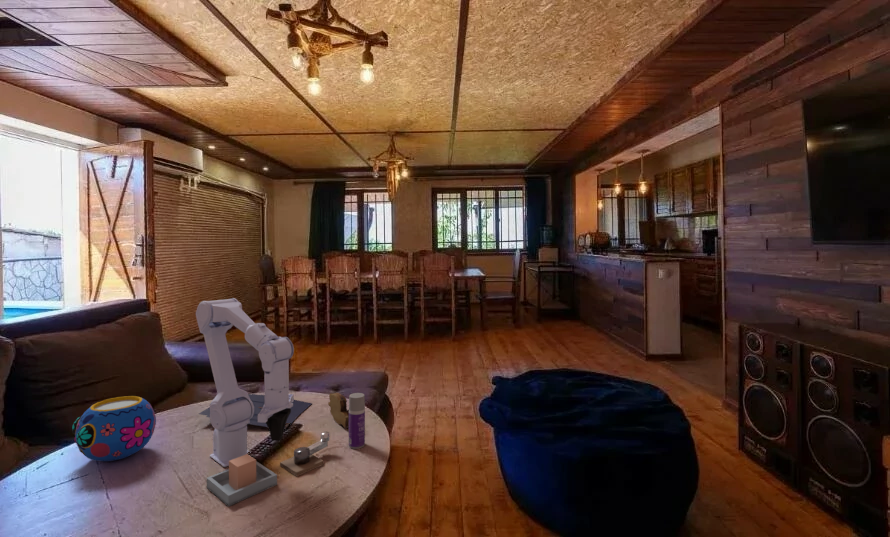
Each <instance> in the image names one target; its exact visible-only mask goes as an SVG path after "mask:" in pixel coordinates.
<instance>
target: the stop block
mask: <svg viewBox="0 0 890 537" xmlns="http://www.w3.org/2000/svg"><path fill="white" fill-rule="evenodd" d="M256 461H257V458H256V459H255V457H254V456H253V457H251V456H250V455H248V454H246V455H243V456H241V457H238V458H235V459H232V460H230V461H229V466H228V469H229V485H230V486H231V487H232V488H233V489H235V490H238V489H241V488H243V487H245V486H248V485H250V484H252V483H255V482H256Z"/></svg>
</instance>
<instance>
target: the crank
mask: <svg viewBox="0 0 890 537" xmlns="http://www.w3.org/2000/svg"><path fill="white" fill-rule="evenodd" d="M329 441H330V431H328V430H327V431H322V432H320V440H319V441H316V442H315V443H313V444H311V445H309V446H302V447H297V448H296V449H294V450H293V456H294V463H296V464H304V463H307V462H308V461H309V460H310V455H314V454H316V453H318V452H319V451H321V450H324V449H325V448H327V447H328V443H329Z"/></svg>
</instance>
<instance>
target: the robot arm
mask: <svg viewBox="0 0 890 537" xmlns="http://www.w3.org/2000/svg"><path fill="white" fill-rule="evenodd" d="M195 317H196V322H197V327H198V329H199V333H200V334H203V337H204V338H203V339H204V342H205V346H206V351H207V355H208V359H209V363H210V367H211V372H212V376H213V380H214V383H215V384H214V385H215V388H216V392H217V393H216V396H214V398H213V399H212V400H211V402H210V403H209V406H208V407H210V418H209V421H210V424H211V426H212V427H213V428H214V430H213V433H212V453H211V454H209V458H211V459H212V460H214V461H215V462H216V463H218V464H219V465H221V467H224V468H227V467H229V461H230V460H232V459H235V458H238V457H241V456H243V455H246V454H247V453H248V452H250V450H248V425H249V424H248V423H250V419H251V418H252V417H253V414H254V405H253V403H252V401H251V400H250V398H249V395H248V394H249V393H248V391H246V390H245V389H241V388H239V386H238V381H237V378H236V373H235V368H234V364H233V360H232V357H231V353H230V349H229V344H228V340H227V337H226V336H227V335H226V334H227V332H228V330H230V329H232V327H235V328H236V329H238V330H239V331H240V332H242V333H243V334H244V339H245V341H246V342H247V343H248V344H249V345H250V346H251V347H253V348H254V350H256V351H257V352H258V356H259V357H258V358H259V359H260V361H261V368H262V371H263V372H264V375H263V376H264V395H265V404H264V406H263V408H262V410H261V412H260V413H259V414H258V422H262V423H266V424H267V426H268V427H267V428H268V431H269V434H270V435H269V436H270V437H271V438H270V439H271V440H272V441H276V442H279V441H281V440H282V439H283V438H284V431H285V430H284V428H285V424H286V421H287V419H288V416H289V414H290V413H291V409H290V408H291V407H292V406H293V403H292V402H293V401H294V400H295V399H294V394H291V393H290V388H289V386H290V385H289V384H290V383H289V382H290V381H289V380H290V379H289V375H290V374H289V373H290V372H289V371H290V370H289V369H290V367H289V366H290V365H289V364H290V363H289V361H290V359H291V358H292V357H293V355H294V351H295V348H294V344H293V342H292V340H290V338H289V337H287V336H279V335H277V334H276V333H274V332H273V331H272V330H271V329H269V327H267V326H266V325H267V324H265V323H264V322H254V321H253V319H251V317H249V315H248V314H247V313H245V311H244V310H243V304H242V303H241V302H240V301H239V300H238V299H237V298H234V297H232V298H228V299H227V298H225V299H217V300H202V301H201V302H199V304H198V305H197V308H196V311H195ZM230 400H236V401H233V402H230V403H227V404H224V403H225V402H227V401H230ZM223 404H224V405H223Z"/></svg>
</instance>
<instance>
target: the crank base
mask: <svg viewBox="0 0 890 537" xmlns="http://www.w3.org/2000/svg"><path fill="white" fill-rule="evenodd" d="M323 465H324V460H323V459H321V458H319V457H317V456H316V455H314V454H312V455H310V460H309V461H308V462H307V463H304V464H296V463H294V455H293V456H292V457H290V458H287V459H284V460H282V461H280V462H279V466H280V467H281V468H283V469H284V470H286V471H287V472H289V473H291V474H292V475H294V476H296V477H298V476H300V475H303V474H305V473H307V472H310V471H312V470H313V469H316V468H319V467H321V466H323Z"/></svg>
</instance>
